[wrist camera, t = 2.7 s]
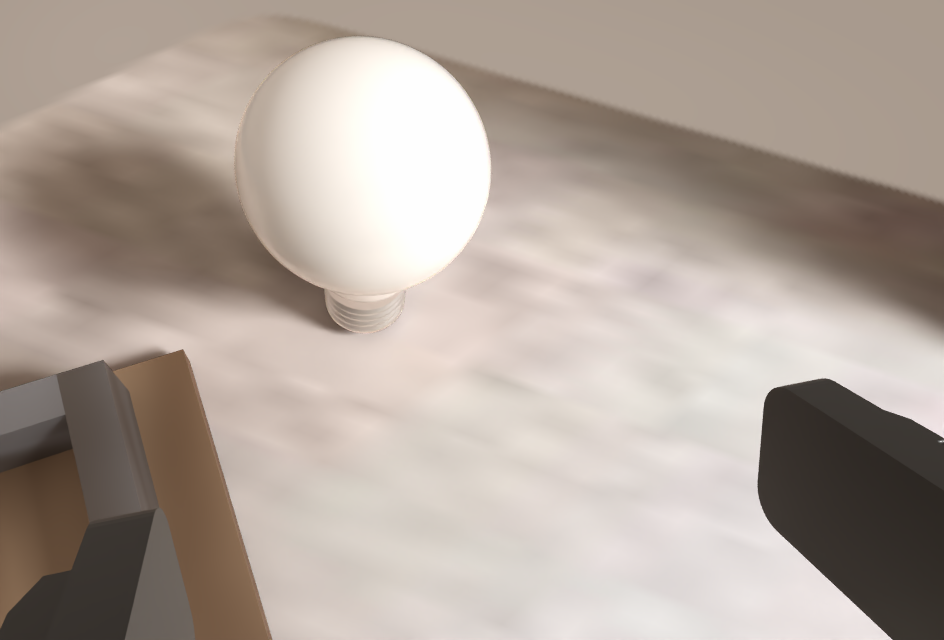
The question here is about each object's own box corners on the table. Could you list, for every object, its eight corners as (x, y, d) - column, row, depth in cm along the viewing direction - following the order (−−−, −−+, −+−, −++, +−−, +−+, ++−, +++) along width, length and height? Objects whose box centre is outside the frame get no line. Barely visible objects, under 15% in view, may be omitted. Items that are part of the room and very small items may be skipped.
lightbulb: (236, 279, 26) (157, 35, 16) (392, 201, 28) (407, -57, 18) (333, 428, 24) (312, 257, 14) (491, 332, 26) (569, 125, 16)
